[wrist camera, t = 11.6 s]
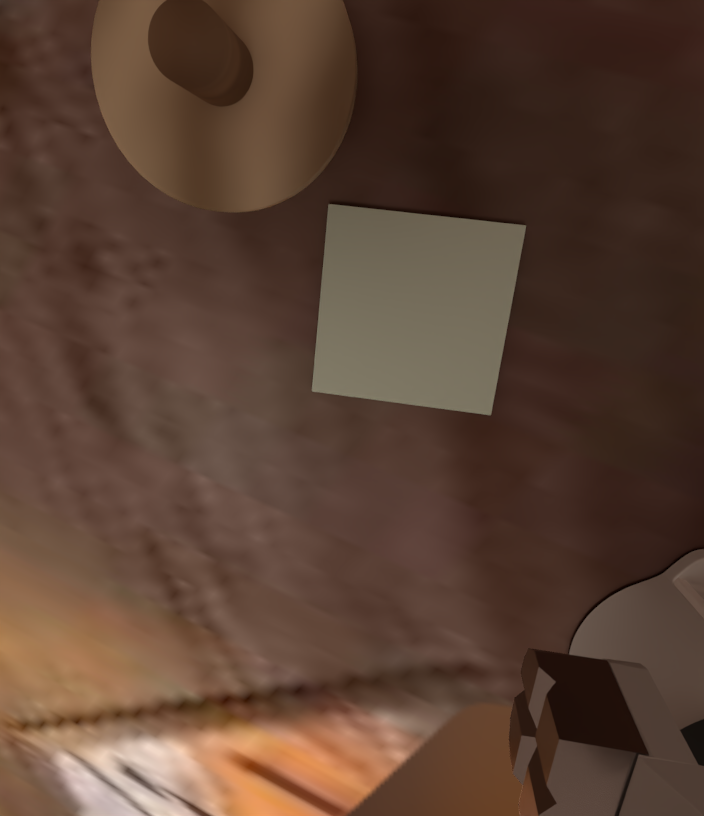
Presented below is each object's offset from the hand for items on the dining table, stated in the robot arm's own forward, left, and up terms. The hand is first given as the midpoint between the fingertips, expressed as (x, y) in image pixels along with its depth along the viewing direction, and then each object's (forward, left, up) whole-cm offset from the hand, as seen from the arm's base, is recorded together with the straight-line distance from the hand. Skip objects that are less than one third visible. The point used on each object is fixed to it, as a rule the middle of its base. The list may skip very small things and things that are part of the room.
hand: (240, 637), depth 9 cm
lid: (+8, -12, -22) cm, 27 cm away
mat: (-2, -1, -31) cm, 31 cm away
